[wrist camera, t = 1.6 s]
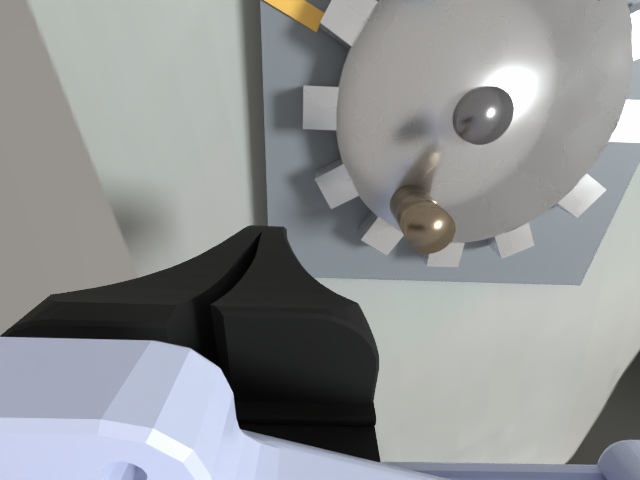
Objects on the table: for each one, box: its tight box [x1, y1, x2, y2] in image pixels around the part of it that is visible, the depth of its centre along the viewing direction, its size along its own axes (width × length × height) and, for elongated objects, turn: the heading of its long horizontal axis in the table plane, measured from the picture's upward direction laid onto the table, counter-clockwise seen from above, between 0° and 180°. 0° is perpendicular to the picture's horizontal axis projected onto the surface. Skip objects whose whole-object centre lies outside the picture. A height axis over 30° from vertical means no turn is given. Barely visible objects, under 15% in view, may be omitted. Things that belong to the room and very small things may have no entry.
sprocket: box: [303, 0, 640, 267], centre depth 13 cm, size 16×16×5 cm
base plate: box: [260, 0, 640, 285], centre depth 16 cm, size 20×20×1 cm
